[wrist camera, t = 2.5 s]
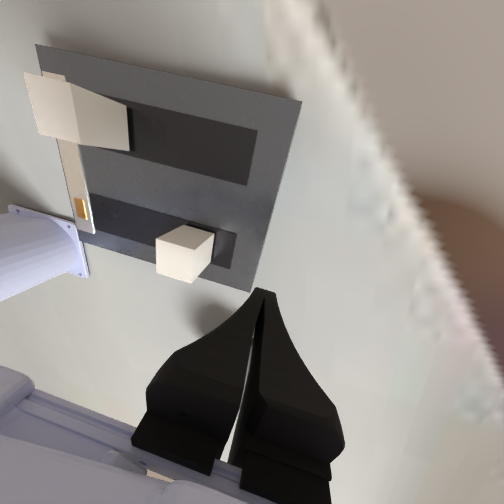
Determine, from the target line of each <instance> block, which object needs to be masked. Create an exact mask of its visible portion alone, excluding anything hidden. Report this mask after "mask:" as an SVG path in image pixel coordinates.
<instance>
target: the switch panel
mask: <svg viewBox="0 0 504 504" xmlns="http://www.w3.org/2000/svg"><path fill="white" fill-rule="evenodd" d="M35 46H36V51H37V55H38V60H39V64H40V69H41V73H42V76H43V77H47V78H52V79H56V80H60V81H65V82H69V83H72V84H74V85H77V86H79V87H82V88H84V89H86V90H89V91H91V92H94V93H96V94H99V95H101V96H104V97H106V98H108V99H111V100H113V101H116V102H118V103H121V104H123V105H126V110H127V123H128V137H129V151H125V150H118V149H111V148H103V147H96V146H88V145H81V144H77V143H73V142H69V141H65V140H61V139H58V138H56V140H57V144H58V149H59V153H60V157H61V162H62V166H63V171H64V175H65V180H66V184H67V189H68V193H69V198H70V202H71V206H72V211H73V215H74V220H75V224H76V229H77V233H78V238H79V241H82V242H85V243H88V244H92V245H95V246H98V247H101V248H105V249H108V250H111V251H115V252H118V253H121V254H124V255H128V256H131V257H134V258H138V259H141V260H144V261H147V262H151V263H154V264H156V238H158V237H160V236H162V235H164V234H166V233H168V232H170V231H172V230H174V229H176V228H178V227H180V226H182V225H186V226H189V227H193V228H196V229H200V230H203V231H207V232H210V233H214V240H213V247H212V255H211V262H210V263H209V264H208V265H207V266H206V268H205V269H204V270H203V271H202V272H201V273H200V274H199V276H198V277H200V278H203V279H207V280H210V281H213V282H216V283H220V284H223V285H226V286H230V287H233V288H236V289H240V290H243V291H246V292H249V293H250V291H251V288H252V285H253V282H254V278H255V275H256V271H257V267H258V264H259V260H260V257H261V253H262V249H263V246H264V242H265V238H266V235H267V231H268V227H269V224H270V220H271V216H272V213H273V209H274V206H275V202H276V198H277V195H278V191H279V187H280V184H281V180H282V176H283V173H284V169H285V165H286V162H287V158H288V155H289V151H290V147H291V144H292V140H293V136H294V133H295V129H296V125H297V122H298V118H299V114H300V111H301V105H302V101H297V100H293V99H288V98H283V97H279V96H274V95H270V94H265V93H260V92H256V91H251V90H246V89H242V88H237V87H232V86H228V85H223V84H219V83H214V82H209V81H205V80H200V79H195V78H191V77H186V76H181V75H177V74H172V73H168V72H163V71H158V70H154V69H149V68H144V67H140V66H135V65H130V64H126V63H121V62H117V61H112V60H107V59H103V58H98V57H93V56H89V55H84V54H79V53H75V52H70V51H66V50H61V49H56V48H52V47H47V46H42V45H38V44H35Z"/></svg>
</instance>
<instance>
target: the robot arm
mask: <svg viewBox="0 0 504 504" xmlns="http://www.w3.org/2000/svg"><path fill="white" fill-rule="evenodd" d="M7 207H8V210H9V213H3V214H0V302H1V301H3V300H5V299H7V298H10V297H12V296H14V295H16V294H19V293H21V292H23V291H25V290H28V289H30V288H32V287H34V286H36V285H39V284H41V283H43V282H45V281H48V280H50V279H52V278H54V277H57V276H59V275H61V274H63V273H65V272H67V273H70V274H73V275H76V276H79V277H82V278H88V277H89V271H88V266H87V262H86V257H85V253H84V248H83V243H82V241H79V238H78V233H77V229H76V224H75V223H74V222H71V221H68V220H64V219H61V218H57V217H54V216H51V215H47V214H44V213H40V212H37V211H34V210H30V209H27V208H24V207H20V206H17V205H13V204H11V205H8V206H7ZM254 329H255V330H254ZM253 334H254V337H253ZM252 339H253V344H252ZM251 344H252V352H251V359H250V366H249V371H248V375H247V380H246V384H245V378H246V372H247V366H248V360H249V355H250V349H251ZM244 385H245V389H244ZM243 391H244V393H243ZM242 396H243V398H242ZM241 400H242V402H241ZM146 403H147V412H146V413H145V415H144V417H143V418H142V420H141V422H140V423H139V425H138V427H137V428H136V427H133V426H131V425H128V424H126V423H123V422H120V421H118V420H115V419H113V418H110V417H107V416H105V415H102V414H100V413H97V412H95V411H92V410H89V409H87V408H84V407H82V406H79V405H77V404H74V403H71V402H69V401H66V400H64V399H61V398H59V397H56V396H53V395H51V394H48V393H46V392H43V391H41V390H38V389H35V384H34V382H33V381H32V380H31V378H29V377H28V376H27V375H25V374H23V373H20V372H17V371H15V370H12V369H10V368H7V367H4V366H0V504H331V496H330V488H329V481H331V479H332V475H331V468H330V463H331V462H332V461H333V460H334V459H335V458H336V457H338V456H339V455H340V454H341V452H342V451H343V449H344V448H345V441H344V436H343V431H342V427H341V423H340V420H339V416H338V413H337V410H336V407H335V405H334V404H333V403H332V401H331V400H330V399H329V398H328V396H327V395H326V394H325V392H324V391H323V390H322V389H321V387H320V386H319V385H318V383H317V382H316V381H315V379H314V378H313V376H312V375H311V373H310V372H309V370H308V369H307V367H306V366H305V364H304V362H303V361H302V359H301V358H300V356H299V354H298V352H297V350H296V349H295V347H294V345H293V343H292V341H291V339H290V337H289V334H288V332H287V330H286V327H285V325H284V322H283V319H282V316H281V313H280V310H279V307H278V303H277V298H276V294H275V293H274V292H271V291H268V290H264V289H261V288H258V287H256V288H254V290H253V292H252V294H251V295H250V297H249V298H248V299H247V300H246V302H245V303H244V304H243V305H242V306H241V307H240V308H239V309H238V310H237V311H236V312H235V313H234V314H233V315H232V316H231V317H230V318H229V319H227V320H226V321H225V322H224V323H222V324H221V325H220V326H218V327H217V328H216V329H214V330H213V331H211V332H210V333H208V334H206V335H205V336H203V337H202V338H200V339H198V340H197V341H195V342H193V343H191V344H189V345H187V346H185V347H183V348H181V349H179V350H177V351H175V352H174V353H173V354H172V355H171V356H170V357H169V358H168V359H167V361H166V362H165V363H164V364H163V365H162V367H161V368H160V369H159V370H158V372H157V373H156V375H155V376H154V378H153V379H152V381H151V382H150V384H149V385H148V387H147V388H146ZM240 405H241V406H240ZM239 409H240V411H239ZM238 412H239V415H238ZM237 415H238V419H237V424H236V428H235V432H234V437H233V441H232V445H231V449H230V453H229V458H228V462H227V463H226V462H223V461H221V460H220V458H221V455H222V453H223V450H224V447H225V445H226V442H227V441H228V438H229V436H230V433H231V430H232V428H233V425H234V422H235V420H236V417H237ZM145 468H146V469H149V470H151V471H153V472H156V473H158V474H161V475H163V476H166V477H168V478H171V479H173V480H175V481H174V482H172V483H170V482H167V481H164V480H160V479H156V478H153V477H149V476H146V475H147V470H146V469H145Z"/></svg>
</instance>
